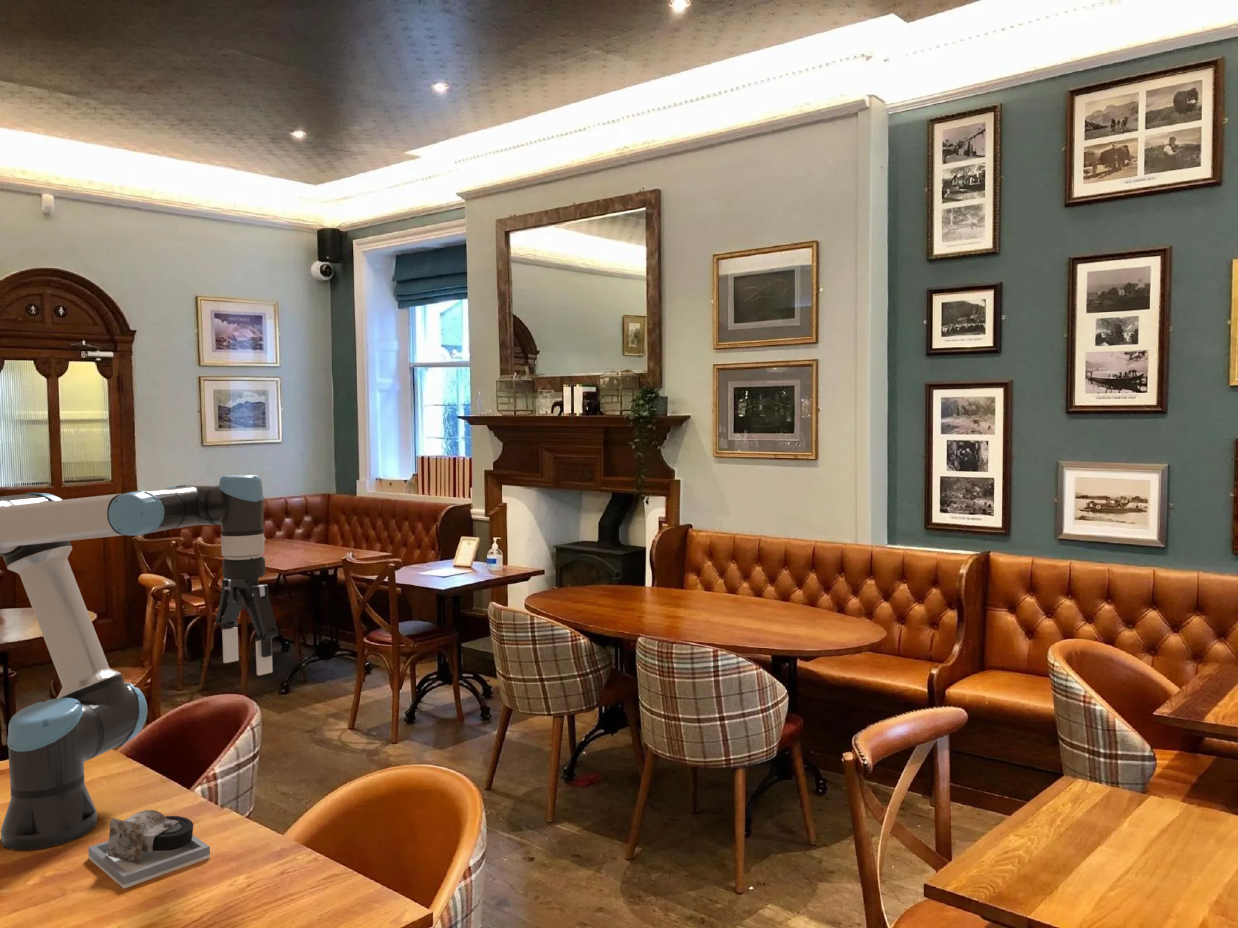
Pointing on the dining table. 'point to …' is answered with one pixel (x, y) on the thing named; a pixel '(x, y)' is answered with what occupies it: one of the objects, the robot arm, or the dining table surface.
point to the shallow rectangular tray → (148, 862)
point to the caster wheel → (147, 835)
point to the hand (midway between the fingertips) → (247, 667)
